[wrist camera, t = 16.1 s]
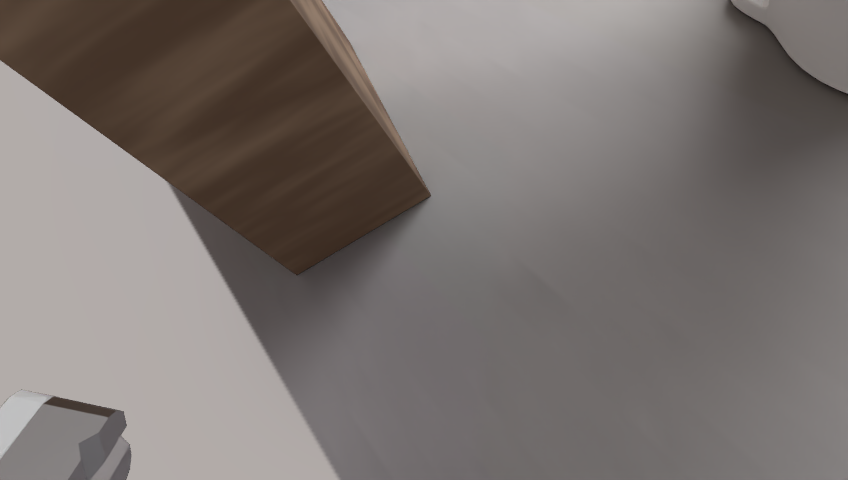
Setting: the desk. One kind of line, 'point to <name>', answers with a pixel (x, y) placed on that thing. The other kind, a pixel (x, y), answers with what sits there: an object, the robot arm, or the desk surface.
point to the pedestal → (229, 110)
